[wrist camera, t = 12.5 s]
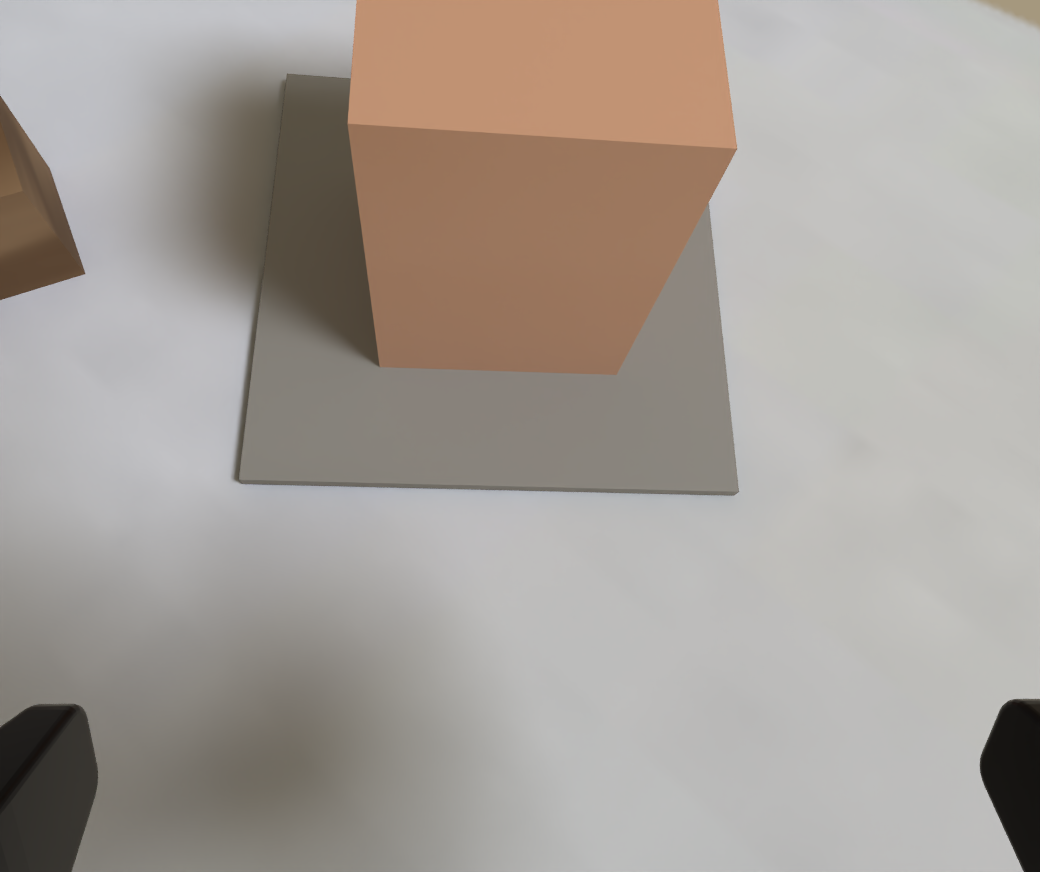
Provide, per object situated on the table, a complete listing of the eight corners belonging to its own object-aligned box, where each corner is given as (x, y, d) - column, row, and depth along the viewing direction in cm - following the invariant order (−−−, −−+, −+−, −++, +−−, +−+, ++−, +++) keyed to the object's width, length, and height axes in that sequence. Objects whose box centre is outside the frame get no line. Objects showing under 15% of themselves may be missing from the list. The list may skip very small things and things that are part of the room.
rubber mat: (733, 495, 23) (738, 491, 23) (241, 483, 22) (238, 479, 22) (694, 113, 28) (698, 104, 28) (289, 83, 27) (286, 73, 26)
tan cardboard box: (616, 374, 24) (737, 148, 15) (379, 367, 23) (347, 123, 14) (605, 180, 26) (701, -120, 17) (390, 168, 26) (368, -154, 16)
